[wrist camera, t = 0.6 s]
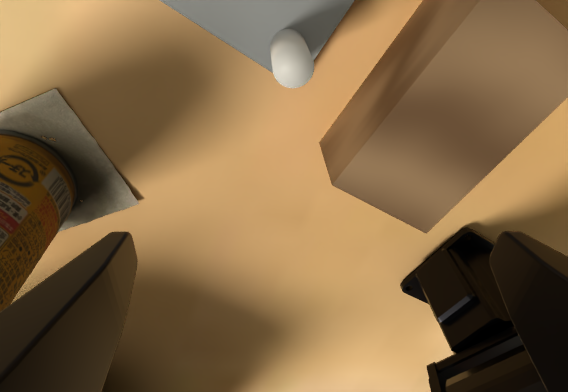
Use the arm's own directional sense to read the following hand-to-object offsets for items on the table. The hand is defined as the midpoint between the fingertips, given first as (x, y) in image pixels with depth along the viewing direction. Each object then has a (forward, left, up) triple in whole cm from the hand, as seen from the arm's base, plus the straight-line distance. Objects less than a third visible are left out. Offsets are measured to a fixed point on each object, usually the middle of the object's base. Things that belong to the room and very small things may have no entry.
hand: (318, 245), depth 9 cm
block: (-6, -3, -12) cm, 14 cm away
